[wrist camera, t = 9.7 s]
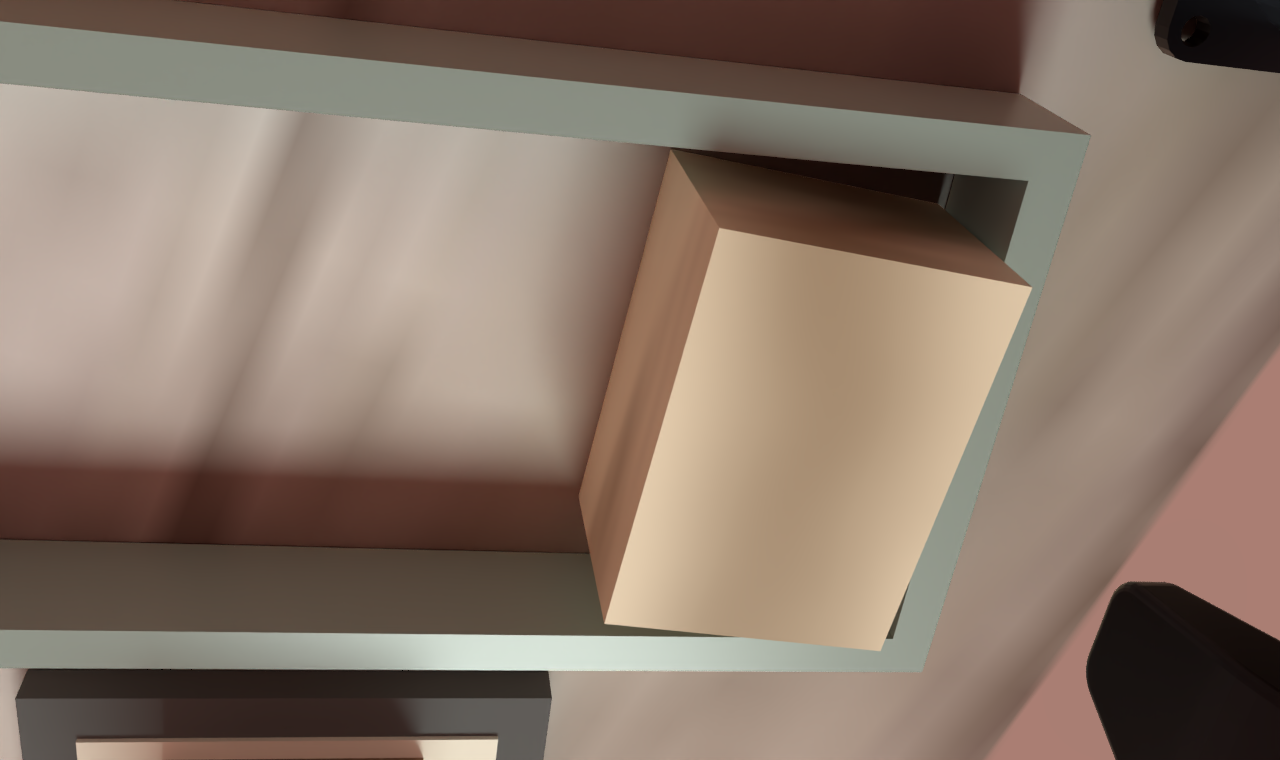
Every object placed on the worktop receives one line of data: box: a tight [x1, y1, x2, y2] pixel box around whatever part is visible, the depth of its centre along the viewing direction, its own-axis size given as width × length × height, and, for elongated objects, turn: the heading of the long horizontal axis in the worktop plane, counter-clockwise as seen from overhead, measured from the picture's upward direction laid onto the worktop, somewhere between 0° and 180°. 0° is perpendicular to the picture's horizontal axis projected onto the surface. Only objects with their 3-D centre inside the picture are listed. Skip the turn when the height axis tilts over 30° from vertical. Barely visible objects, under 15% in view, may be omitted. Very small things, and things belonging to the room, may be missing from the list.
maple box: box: [578, 149, 1032, 651], centre depth 21 cm, size 5×7×4 cm
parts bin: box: [0, 0, 1091, 672], centre depth 20 cm, size 22×11×2 cm, turn 82°
